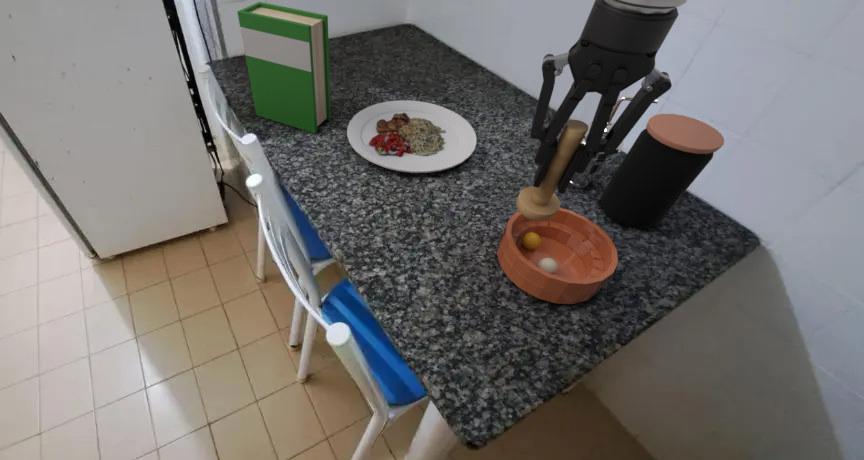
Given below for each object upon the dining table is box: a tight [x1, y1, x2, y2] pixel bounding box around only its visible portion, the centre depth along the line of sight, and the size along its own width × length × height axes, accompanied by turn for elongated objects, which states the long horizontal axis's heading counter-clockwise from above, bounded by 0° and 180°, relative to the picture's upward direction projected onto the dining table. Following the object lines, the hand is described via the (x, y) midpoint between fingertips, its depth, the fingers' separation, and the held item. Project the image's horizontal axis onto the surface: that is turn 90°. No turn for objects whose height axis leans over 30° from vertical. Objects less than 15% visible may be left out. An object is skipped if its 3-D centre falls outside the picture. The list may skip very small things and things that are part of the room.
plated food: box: [346, 99, 478, 174], centre depth 91 cm, size 30×30×3 cm
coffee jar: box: [600, 113, 725, 229], centre depth 69 cm, size 11×11×18 cm
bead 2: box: [538, 258, 558, 275], centre depth 63 cm, size 3×3×3 cm
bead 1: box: [522, 232, 541, 250], centre depth 67 cm, size 3×3×3 cm
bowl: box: [496, 207, 619, 305], centre depth 64 cm, size 17×17×6 cm
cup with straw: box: [568, 95, 659, 189], centre depth 75 cm, size 8×9×20 cm
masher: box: [515, 119, 588, 221], centre depth 55 cm, size 6×6×15 cm
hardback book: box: [236, 1, 332, 135], centre depth 90 cm, size 18×7×24 cm, turn 62°
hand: (548, 184), depth 56 cm, fingers closed on masher, 3 cm apart
